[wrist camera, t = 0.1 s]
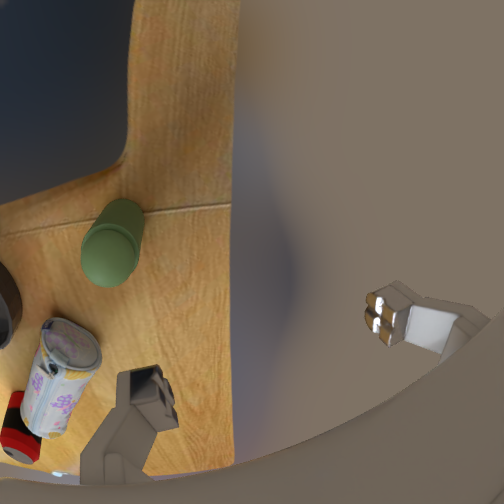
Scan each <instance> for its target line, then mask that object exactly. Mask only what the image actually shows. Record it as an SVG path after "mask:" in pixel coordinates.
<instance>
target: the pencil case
mask: <svg viewBox="0 0 504 504" xmlns="http://www.w3.org/2000/svg"><path fill="white" fill-rule="evenodd" d="M101 363H102V353H101V349H100V346H99V344H98V342H97V340H96V339H95V337H94V336H93V335H92V334H91V333H90V332H88V331H87V330H85V329H84V328H82V327H80V326H78V325H77V324H75V323H73V322H71V321H69V320H67V319H64V318H58V317H55V318H50V319H48V320H46V321H45V322H44V323H43V325H42V327H41V332H40V344H39V347H38V349H37V351H36V353H35V356H34V359H33V363H32V368H31V372H30V375H29V380H28V383H27V386H26V390H25V393H24V398H23V400H22V403H21V407H20V413H21V417H22V420H23V421H24V423H25V425H26V426H27V427H28V429H29V430H30V431H31V432H32V433H33V434H36V435H37V436H39V437H43V438H46V439H55V438H57V437H59V436H61V435H62V434H63V433H64V432H65V431H66V428H67V423H68V420H69V418H70V416H71V412H72V410H73V408H74V407H75V405H76V404H77V402H78V401H79V399H80V396H81V394H82V392H83V391H84V388H85V386H86V385H87V383H88V381H89V380H90V379H91V378H92V376H93V375H94V374H95V372H96V371H97V370H98V369H99V367H100V365H101Z"/></svg>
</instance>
